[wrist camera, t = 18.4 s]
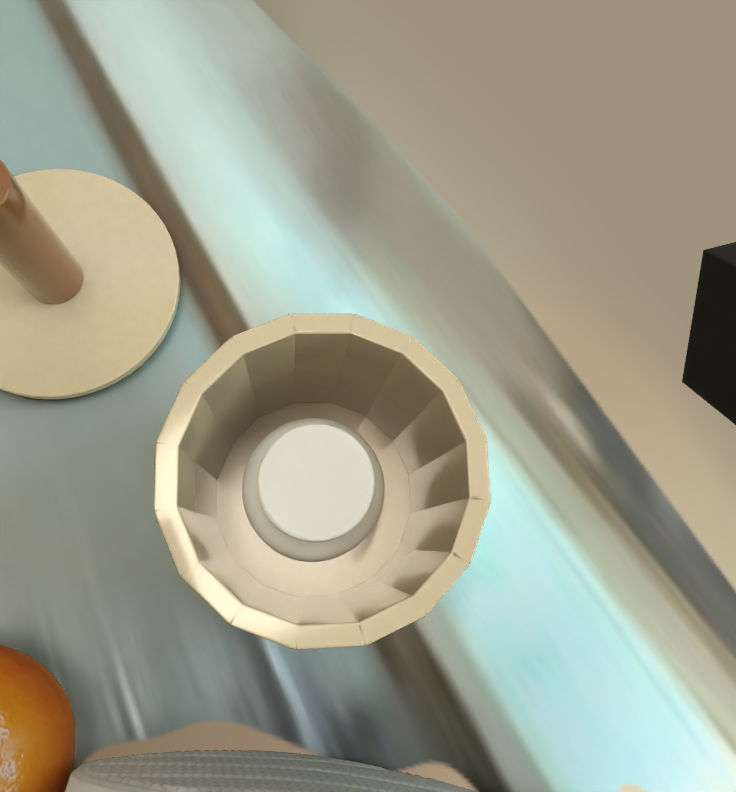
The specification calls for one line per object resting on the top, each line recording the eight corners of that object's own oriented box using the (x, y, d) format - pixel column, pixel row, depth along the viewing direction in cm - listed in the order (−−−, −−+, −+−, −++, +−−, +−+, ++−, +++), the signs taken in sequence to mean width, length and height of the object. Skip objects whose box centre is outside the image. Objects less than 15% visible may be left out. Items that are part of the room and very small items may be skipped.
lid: (-72, 404, 33) (-231, 342, 23) (-51, 178, 35) (-187, 32, 25) (180, 400, 34) (134, 340, 24) (184, 183, 36) (144, 46, 26)
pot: (201, 616, 32) (149, 657, 20) (204, 392, 34) (158, 312, 22) (427, 606, 33) (501, 639, 21) (416, 389, 35) (478, 312, 24)
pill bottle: (316, 419, 34) (326, 370, 24) (390, 504, 33) (429, 488, 24) (227, 493, 33) (201, 472, 23) (303, 583, 32) (308, 599, 23)
